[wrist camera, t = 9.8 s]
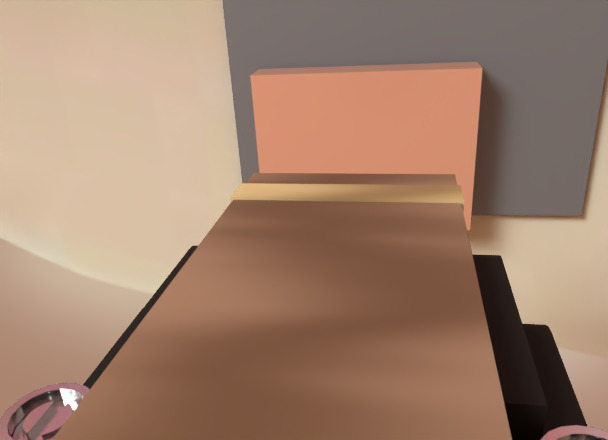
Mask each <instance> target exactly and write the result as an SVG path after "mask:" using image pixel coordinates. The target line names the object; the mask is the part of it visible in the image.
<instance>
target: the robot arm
mask: <svg viewBox="0 0 608 440" xmlns="http://www.w3.org/2000/svg"><path fill="white" fill-rule="evenodd" d="M197 247H198V246H192V247H191V248H190V249H189V250H188V252H187V253H186V254H185V255H184V257H183V258H182V259H181V261H180V262H179V263H178V264H177V266H176V267H175V268H174V270H173V271H172V272H171V273H170V275H169V276H168V277H167V279H166V280H165V281H164V282H163V284H162V285H161V286H160V288H159V289H158V290H157V291H156V293H155V294H154V295H153V297H152V298H151V299H150V300H149V302H148V303H147V304H146V306H145V307H144V308H143V309H142V310H141V312H140V313H139V314H138V315H137V317H136V318H135V319H134V320H133V322H132V323H131V324H130V326H129V327H128V328H127V329H126V331H125V332H124V333H123V334H122V336H121V337H120V338H119V340H118V341H117V342H116V343H115V345H114V346H113V347H112V348H111V350H110V351H109V352H108V354H107V355H106V356H105V357H104V359H103V360H102V361H101V363H100V364H99V365H98V366H97V368H96V369H95V370H94V372H93V373H92V374H91V376H90V377H89V378H88V379H87V381H86V382H85V383H84V384H83V385H80V384H77V383H59V384H54V385H48V386H46V387H43V388H40V389H38V390H35V391H33V392H31V393H29V394H27V395H26V396H24V397H22V398H20V399H19V400H18V401H17V402H15V403H14V404H13V405H12V406H11V407H9V408H8V410H7V411H6V412H5V413H4V414H3V416H2V417H1V418H0V440H52V439H53V438H54V436H55V435H56V434H57V432H58V431H59V430H60V429H61V427H62V426H63V425H64V423H65V422H66V421H67V419H68V418H69V417H70V415H71V414H72V413H73V411H74V410H75V409H76V407H77V406H78V405H79V403H80V402H81V401H82V399H83V398H84V397H85V395H86V394H87V393H88V391H89V390H90V389H91V387H92V386H93V385H94V384H95V382H96V381H97V380H98V378H99V377H100V376H101V374H102V373H103V372H104V370H105V369H106V368H107V366H108V365H109V364H110V362H111V361H112V360H113V358H114V357H115V356H116V354H117V353H118V352H119V350H120V349H121V348H122V346H123V345H124V344H125V342H126V341H127V340H128V339H129V337H130V336H131V335H132V333H133V332H134V331H135V329H136V328H137V327H138V325H139V324H140V323H141V321H142V320H143V319H144V317H145V316H146V315H147V313H148V312H149V311H150V309H151V308H152V307H153V305H154V304H155V303H156V301H157V300H158V299H159V297H160V296H161V295H162V294H163V292H164V291H165V290H166V288H167V287H168V286H169V284H170V283H171V282H172V280H173V279H174V278H175V276H176V275H177V274H178V272H179V271H180V270H181V268H182V267H183V266H184V264H185V263H186V262H187V260H188V259H189V258H190V256H191V255H192V254H193V252H194V251H195V250H196V249H197ZM473 260H474V265H475V269H476V274H477V279H478V283H479V288H480V293H481V297H482V302H483V307H484V311H485V316H486V321H487V325H488V330H489V335H490V339H491V344H492V349H493V353H494V358H495V363H496V367H497V372H498V376H499V381H500V386H501V390H502V395H503V400H504V404H505V409H506V414H507V418H508V423H509V428H510V432H511V437H512V440H608V432H606V431H603V430H600V429H597V428H594V427H587V424H586V421H585V419H584V416H583V414H582V411H581V409H580V406H579V403H578V401H577V398H576V395H575V393H574V390H573V388H572V385H571V382H570V380H569V378H568V375H567V372H566V369H565V367H564V364H563V362H562V359H561V357H560V354H559V351H558V348H557V346H556V343H555V341H554V338H553V335H552V333H551V331H550V329H549V327H548V326H546V325H535V324H522V322H521V319H520V315H519V312H518V309H517V306H516V303H515V299H514V296H513V293H512V290H511V286H510V283H509V280H508V277H507V274H506V270H505V267H504V264H503V261H502V258H501V256H499V255H473Z"/></svg>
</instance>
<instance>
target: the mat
mask: <svg viewBox="0 0 608 440" xmlns="http://www.w3.org/2000/svg"><path fill="white" fill-rule="evenodd" d="M223 9H224V18H225V27H226V36H227V45H228V55H229V64H230V73H231V82H232V91H233V100H234V110H235V119H236V128H237V137H238V146H239V155H240V164H241V174H242V183H246V182H247V181H248V180H249V178H250V177H251V176H252V174H253V173H260V172H259V162H258V151H257V141H256V130H255V120H254V109H253V99H252V88H251V78H250V75H252V74H253V73H255V72H256V71H257V70H259V69H273V68H303V67H333V66H362V65H392V64H422V63H451V62H478V63H479V65H480V66H481V67H482V68H483V69H482V82H481V95H480V108H479V121H478V134H477V147H476V160H475V173H474V186H473V199H472V212H471V215H535V216H582V211H583V205H584V199H585V193H586V187H587V181H588V175H589V169H590V163H591V157H592V151H593V145H594V139H595V133H596V127H597V121H598V115H599V109H600V103H601V97H602V91H603V85H604V80H605V74H606V68H607V62H608V0H223Z"/></svg>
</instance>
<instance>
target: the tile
mask: <svg viewBox="0 0 608 440" xmlns="http://www.w3.org/2000/svg"><path fill="white" fill-rule="evenodd" d="M482 69H483V68H482V67H481V66H480V65H479V63H478V62H451V63H422V64H392V65H362V66H333V67H303V68H273V69H259V70H257V71H256V72H255V73H253V74H252V75H250V78H251V88H252V99H253V109H254V120H255V130H256V141H257V151H258V162H259V172H260V173H347V174H455V176H456V181H457V185H461V189H462V194H463V198H464V210H463V214H464V218H465V223H466V228H467V230H470V225H471V212H472V199H473V186H474V173H475V160H476V147H477V134H478V121H479V108H480V95H481V82H482Z"/></svg>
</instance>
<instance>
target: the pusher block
mask: <svg viewBox="0 0 608 440" xmlns="http://www.w3.org/2000/svg"><path fill="white" fill-rule="evenodd" d="M463 210H464V198H463V194H462V189H461V185H457V181H456V176H455V174H347V173H253V174H252V176H251V177H250V178H249V180H248V181H247V182H246V183H242V184H241V185H240V186H239V187H238V189H237V190H236V191H235V193H234V194H233V195H232V196H231V204H230V205H229V206H228V207H227V209H226V210H225V211H224V213H223V214H222V215H221V217H220V218H219V219H218V221H217V222H216V223H215V225H214V226H213V227H212V229H211V230H210V231H209V233H208V234H207V235H206V237H205V238H204V239H203V241H202V242H201V243H200V245H199V246H198V247H197V249H196V250H195V251H194V252H193V254H192V255H191V256H190V258H189V259H188V260H187V262H186V263H185V264H184V266H183V267H182V268H181V270H180V271H179V272H178V274H177V275H176V276H175V278H174V279H173V280H172V282H171V283H170V284H169V286H168V287H167V288H166V290H165V291H164V292H163V294H162V295H161V296H160V297H159V299H158V300H157V301H156V303H155V304H154V305H153V307H152V308H151V309H150V311H149V312H148V313H147V315H146V316H145V317H144V319H143V320H142V321H141V323H140V324H139V325H138V327H137V328H136V329H135V331H134V332H133V333H132V335H131V336H130V337H129V339H128V340H127V341H126V342H125V344H124V345H123V346H122V348H121V349H120V350H119V352H118V353H117V354H116V356H115V357H114V358H113V360H112V361H111V362H110V364H109V365H108V366H107V368H106V369H105V370H104V372H103V373H102V374H101V376H100V377H99V378H98V380H97V381H96V382H95V384H94V385H93V386H92V387H91V389H90V390H89V391H88V393H87V394H86V395H85V397H84V398H83V399H82V401H81V402H80V403H79V405H78V406H77V407H76V409H75V410H74V411H73V413H72V414H71V415H70V417H69V418H68V419H67V421H66V422H65V423H64V425H63V426H62V427H61V429H60V430H59V431H58V432H57V434H56V435H55V436H54V438H53V439H52V440H512V437H511V432H510V428H509V423H508V418H507V414H506V409H505V404H504V400H503V395H502V390H501V386H500V381H499V376H498V372H497V367H496V363H495V358H494V353H493V349H492V344H491V339H490V335H489V330H488V325H487V321H486V316H485V311H484V307H483V302H482V297H481V293H480V288H479V283H478V279H477V274H476V269H475V265H474V260H473V255H472V251H471V246H470V242H469V237H468V232H467V228H466V223H465V218H464V214H463Z"/></svg>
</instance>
